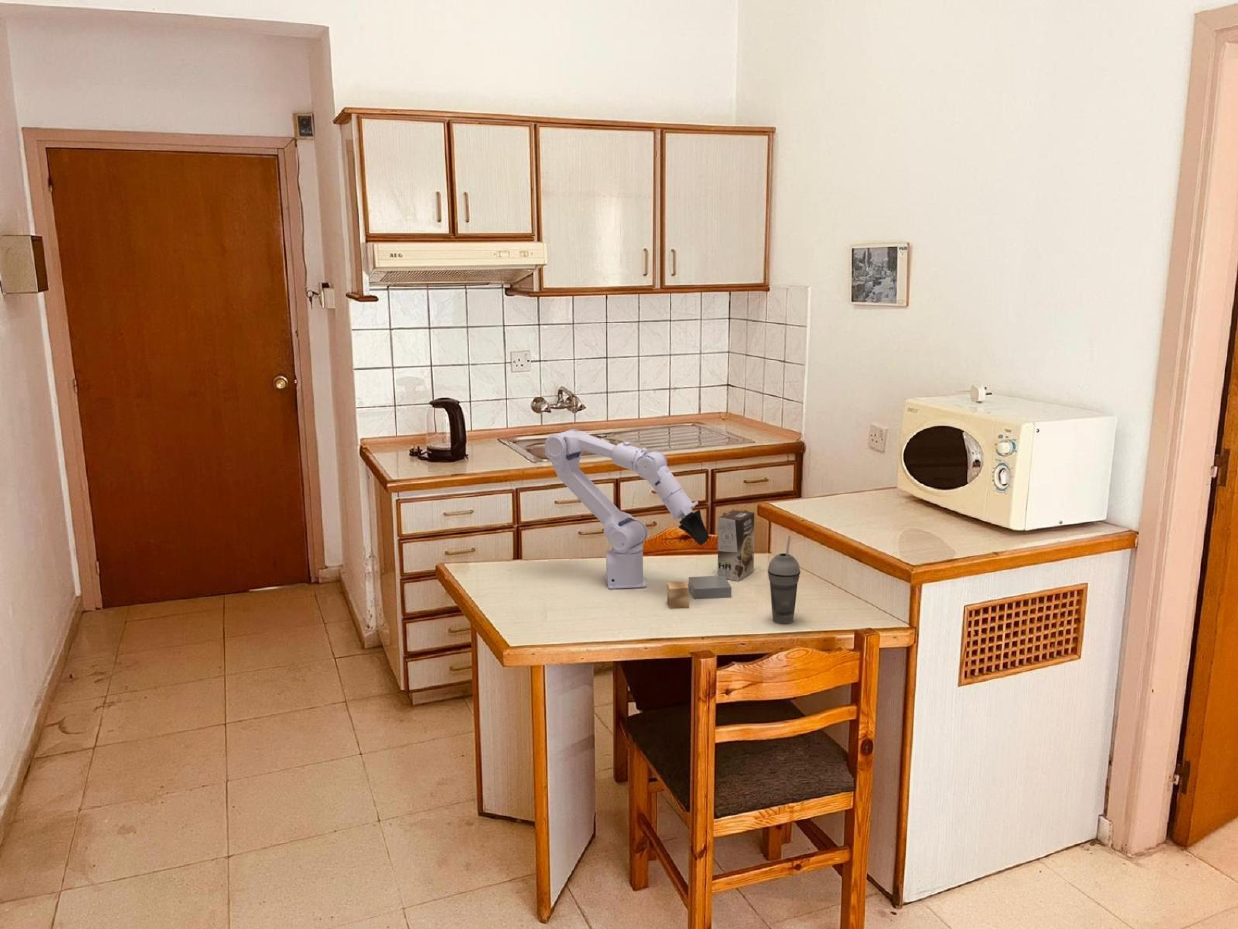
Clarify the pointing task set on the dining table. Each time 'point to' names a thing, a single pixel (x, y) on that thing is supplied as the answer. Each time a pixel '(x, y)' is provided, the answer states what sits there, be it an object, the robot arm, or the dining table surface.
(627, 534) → the robot arm
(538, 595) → the dining table surface
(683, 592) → the oak block
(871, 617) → the dining table surface
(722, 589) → the slate base
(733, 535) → the coffee box
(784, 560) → the beverage cup
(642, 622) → the dining table surface
